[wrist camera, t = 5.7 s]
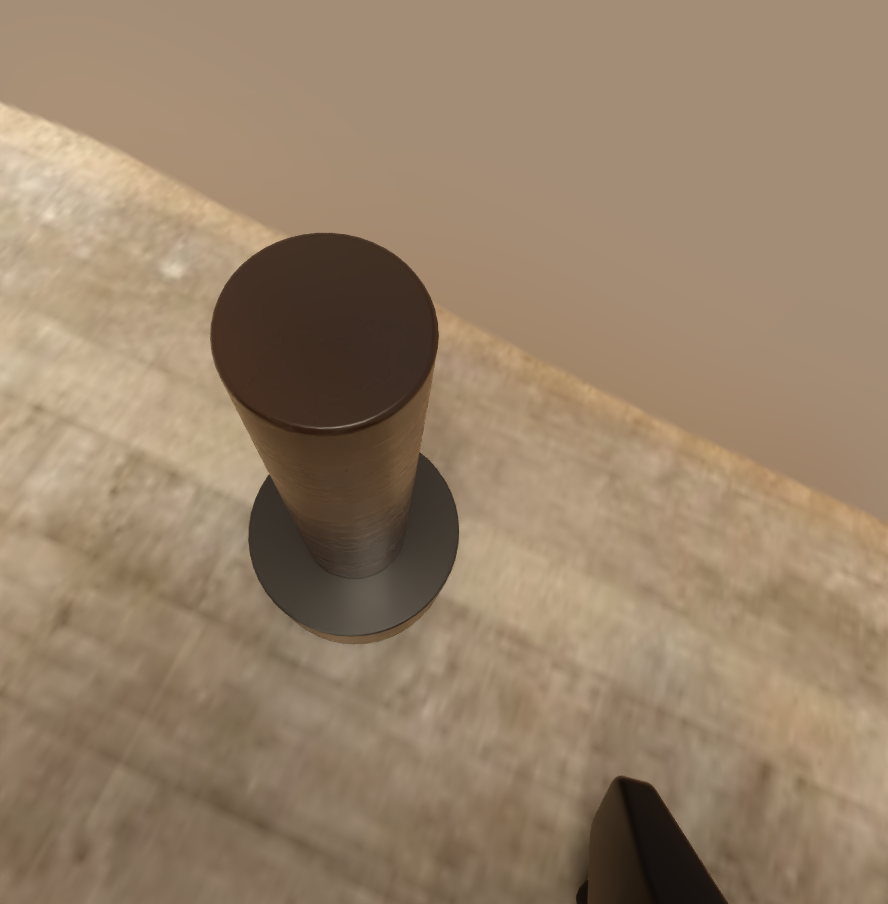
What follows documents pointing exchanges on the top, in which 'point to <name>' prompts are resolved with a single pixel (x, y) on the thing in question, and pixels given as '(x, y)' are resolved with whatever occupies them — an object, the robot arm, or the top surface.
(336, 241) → the brown handled tamper
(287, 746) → the top surface
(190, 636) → the top surface
